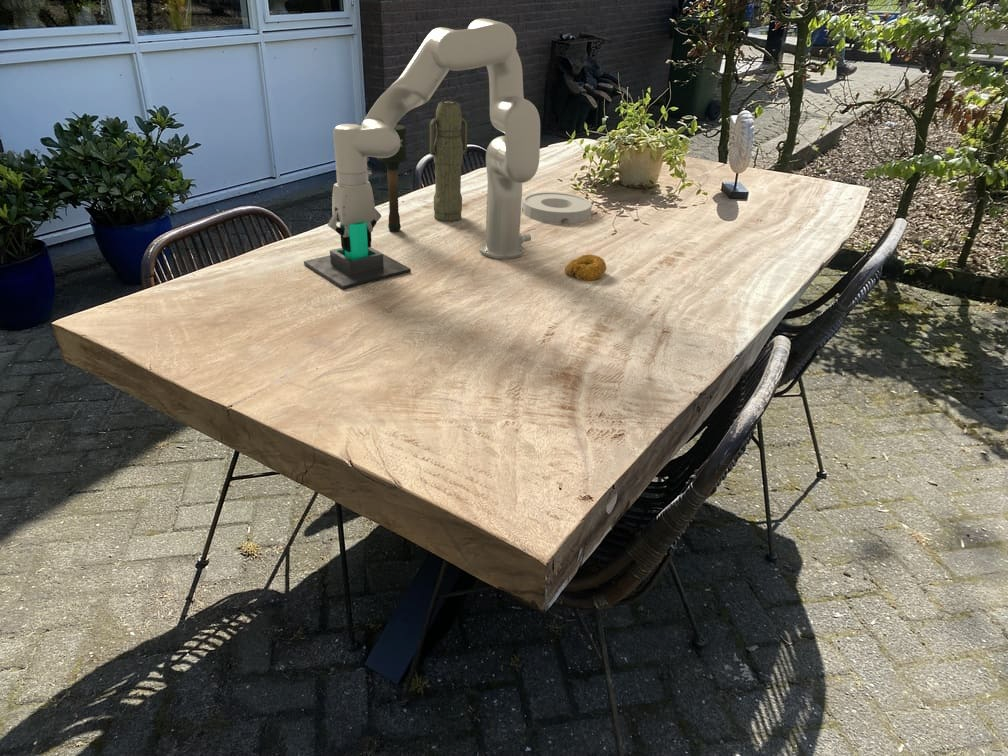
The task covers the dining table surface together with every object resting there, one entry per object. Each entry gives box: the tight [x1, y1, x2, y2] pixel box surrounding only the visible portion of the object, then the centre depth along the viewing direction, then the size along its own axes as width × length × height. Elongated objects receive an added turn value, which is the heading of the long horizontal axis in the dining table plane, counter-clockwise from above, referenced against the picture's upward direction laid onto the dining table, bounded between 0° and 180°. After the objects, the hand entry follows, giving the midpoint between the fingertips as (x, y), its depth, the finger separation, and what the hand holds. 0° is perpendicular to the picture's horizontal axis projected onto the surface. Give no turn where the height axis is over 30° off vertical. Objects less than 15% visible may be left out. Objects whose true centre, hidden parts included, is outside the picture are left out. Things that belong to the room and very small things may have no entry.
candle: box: [343, 222, 368, 260], centre depth 180 cm, size 6×6×12 cm
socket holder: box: [303, 246, 412, 291], centre depth 184 cm, size 20×20×4 cm
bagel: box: [564, 254, 607, 282], centre depth 188 cm, size 10×11×5 cm
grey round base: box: [521, 191, 593, 224], centre depth 235 cm, size 23×23×4 cm
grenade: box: [376, 124, 409, 233], centre depth 204 cm, size 8×9×30 cm
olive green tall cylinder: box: [428, 100, 468, 223], centre depth 216 cm, size 9×12×35 cm
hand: (356, 247), depth 182 cm, fingers closed on candle, 5 cm apart
